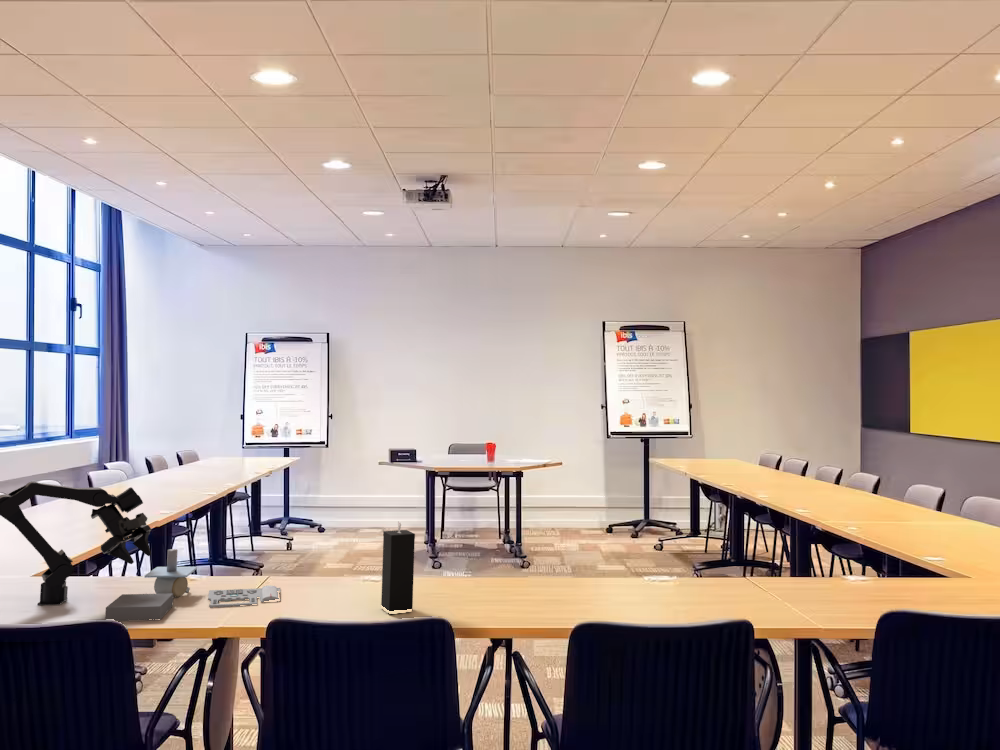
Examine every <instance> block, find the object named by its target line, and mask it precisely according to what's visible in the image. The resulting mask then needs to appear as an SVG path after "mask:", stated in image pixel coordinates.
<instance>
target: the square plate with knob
mask: <svg viewBox="0 0 1000 750" xmlns="http://www.w3.org/2000/svg"><path fill="white" fill-rule="evenodd" d="M166 557H167V559H166V566H156V567H155V568H153V569H152V570H150V571H148V573H146V574H144V578H146V579H147V578H150V579H152V578H157V577H186V578H188V577H189V576H190V575H191V574H193V572H195V571H196V570H197V569H198V566H178V549H176V548H171V549H167V556H166Z"/></svg>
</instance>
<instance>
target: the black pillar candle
mask: <svg viewBox="0 0 1000 750" xmlns="http://www.w3.org/2000/svg"><path fill="white" fill-rule="evenodd" d="M401 526H402V524H401V522H400V521H397V528H398V529H397V530H383V532H382V534H383V538H382V539H383V544H382V570H381V571H382V574H381V576H382V577H381V602H380V605H382V606H383V607H385V608H386V609H387V610H389V611H394V610H407V609H412V610H413V604H414V601H413V600H414V599H413V598H414V574H415V573H414V569H415V568H414V567H415V566H414V565H415V539H416V534H415V533H414V532H412V531H409V530H407V529H401Z"/></svg>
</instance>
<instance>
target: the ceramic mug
mask: <svg viewBox="0 0 1000 750" xmlns="http://www.w3.org/2000/svg"><path fill="white" fill-rule="evenodd" d="M153 589H154V592H155V594H169V593H173V598H179V597H181V596H183V595H184V594H185V593H189V592H190V590H191V587H189V581H188V578H187V577H155V581H154V586H153Z"/></svg>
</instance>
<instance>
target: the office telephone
mask: <svg viewBox="0 0 1000 750" xmlns="http://www.w3.org/2000/svg"><path fill="white" fill-rule="evenodd" d="M279 590H280V591H281V587H277V586H275V585H264V586H262V587H261V588H238V589H236V588H235V589H234V588H233V589H209V590H208V595H207V601H208V600H210V601H209V602H210V603H209V605H208V608H209V607H210V609H212V608H213V607H218V608H231V607H230V606H236V607H241V606H240V605H252V604H259V603H258V600H257V599H258V598H257V597H260V599H259V601H261V602H264V601H269V600H275V599H279V598H278V592H277V591H279ZM245 599H249V600H248V601H249V602H235V603H233V602H232V601H231V600H242V601H246V600H245ZM218 601H225V602H232V603H219V602H218ZM252 606H253V605H252ZM213 609H214V608H213Z"/></svg>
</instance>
